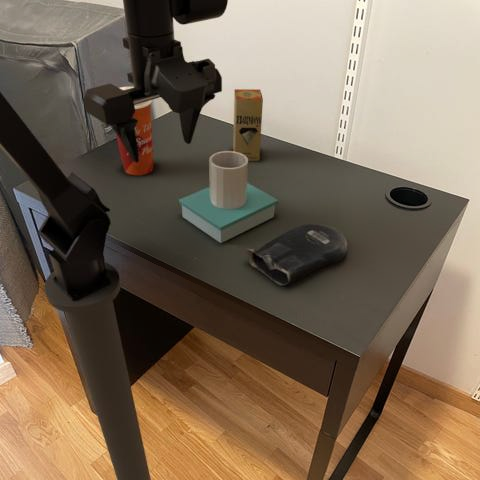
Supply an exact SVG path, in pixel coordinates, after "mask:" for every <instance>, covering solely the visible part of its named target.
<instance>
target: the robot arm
mask: <svg viewBox="0 0 480 480" xmlns="http://www.w3.org/2000/svg"><path fill="white" fill-rule="evenodd" d="M122 3H123V10H124V20H125V27H126V34H127V35H126V36H127V37H126V36H125V37H122V46H123V48H124V49H127V50H129V57H130V67H131V72H127V73H126V74H127V75H126V76H127V81H128V82H129V83H131V84H132V85H133V87H134V88H131V89H127V90H122V89H120V87H118V86H116V85H115V84H113V83H106V84H103V85H99V86H94V87H91V88H87V89H86V91H85V93H84V96H83V104H84V109H85V113H87V114H89V115H90V116H92V117H94V118H95V119H97V120H98V121H100V122H102V123H103V124H105V125H108V126H110V127H111V128H112V129H113V131H114V132H115V135H116V134H117V135H118V137H119V138H120V140H121V142H122V143H123V145H124V147H125V148H126V150H127V152H128V153H129V155H130V157H131V158H132V160H133V161H134V162H136V163H138V162H139V152H138V146H137V140H136V134H135V127H136V125H137V122H138V120H137V119H135V118H133V117H132V116H133V115H134V113H135V106H134V105H136V104H139V103H142V102H146V101H149V100H152V101H153V100H156V99H159V98H161V99H162V100H163V101H164V102H165V103H166V104H167V105H168V108H169V109H170V110H171V111H172V112H173V113H175V114H178V115H179V123H180V128H181V133H182V137H183V141H184V143H186V144H187V145H190V144H191V143H192V141H193V137H194V133H195V131H196V127H197V124H198V120H199V117H200V114H201V112H202V110H203V108H204V106H206V105H207V104H208V103H209V102H210V101H212V100H214V99H215V98H216V94H219V93H221V92H223V77H222V74H221V73H220V70H218V68H216V64H215V63H214V62H213V61H212V60H211V59H210V58H205V59H201V60H195V61H194V60H192V61H186V59H185V56H184V48H183V46H182V41H180V40H177V39H176V38H175V27H174V20H175V21H176V23H178V25H184V26H185V25H190V24H195V23H199V22H204V21H208V20H213V19H217V18H218V19H219V18H221V17H222V16H223V15H224V14H225V12H226V10H227V7H228V3H229V0H122ZM117 135H116V136H117ZM0 149H1V150H2V151H3V153H4V154H5V155H6V156H7V157H8V158H9V160H10V161H11V162H12V163H13V164H14V165H15V166H16V168H17V169H19V171H20V172H21V174H23V176H24V177H25V178H26V179H27V180H28V181H29V182H30V183H31V184H32V186H33V187H34V188H35V190H36V191H37V193H38V196H39V198H40V201H41V204H42V206H43V207H44V209H45V211H46V212H47V216H46V217H45V219H44V221H43V222H42V224H41V226H40V227H39V229H38V231H37V234H38V235H39V237H40V238H41V239H42V240H43V241H44V242H45V244H48V245H49V246H50V247H51V248H52V250H50V251H48V255H49V259H50V262H51V265H52V268H53V271H54V272H55V275H56V276H55V277H53V281H54V282H55V283H56V284H57V286H58V287H59V288H60V289H61V290H62V291H63V292H64V293H65V294H66V295H67V296H68V297H69V298H70V299H71V300H72V301H76V300H79V299H81V298H83V297H85V296H87V295H89V294H91V293H93V292H95V291H97V290H99V289H101V288H103V287H106V286H108V285H110V284H111V280H110V279H109V278H108V277H107V276H106V275H105V274H107V269H106V264H105V262H106V260H105V256H104V255H105V254H104V252H105V246H106V239H107V234H108V232H109V230H110V226H111V224H112V223H111V218H110V216H109V215H108V213H109V212H110V211H111V209H110V208H109V207H108V206H107V205H105V204H104V203H103V202H102V201H101V198H100V196H99V195H98V193H97V191H96V190H95V188H94V187H92V186H91V185H90V184H88V183H87V182H86V181H85V180H83V179H82V178H80V177H79V176H78V175H77V174H75V173H74V172H71V173H69V175H68V176H66V174H65V173H64V172H63V170H61V168H60V167H59V165H58V164H57V163H56V162H55V160H54V159H53V158H52V156H51V155H50V154H49V152H48V151H47V150H46V149H45V147H44V146H43V145H42V144H41V142H40V141H39V139H38V138H37V137H36V136H35V134H34V133H33V132H32V131H31V129H30V128H29V127H28V125H27V124H26V122H24V121H23V119H22V117H20V115H19V114H18V112H17V111H16V110H15V108H14V107H13V106H12V105H11V104H10V102H9V101H8V99H6V97H5V95H3V93H2V92H1V91H0Z"/></svg>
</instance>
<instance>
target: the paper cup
mask: <svg viewBox="0 0 480 480" xmlns="http://www.w3.org/2000/svg"><path fill="white" fill-rule="evenodd" d="M119 88H120V89H122V90H127V89H131V88H134V86H121V87H119ZM152 103H153V100H149V101H146V102H142V103H139V104H136V105H134V106H135V113H134V115H133V116H132V117H133V118H135V119H137V120H138V122H137V125H136V127H135V134H136V140H137V146H138V152H139V162H138V163H136V162H134V161H133V160H132V158H131V157H130V155H129V153H128V152H127V150H126V148H125V147H124V145H123V143H122V142H121V140H120V138H119V137H118V135H117V134H116V133H115V135H116V141H117V144H118V148H119V153H120V159H121V162H122V166H123V170H124V172H125V173H127V174H128V175H131V176H144V175H148V174H149V173H151V172H153V170H154V169H153V168H154V150H153V149H154V148H153V129H152V127H153V126H152V124H153V123H152V107H151V104H152Z"/></svg>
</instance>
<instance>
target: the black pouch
mask: <svg viewBox="0 0 480 480" xmlns="http://www.w3.org/2000/svg"><path fill="white" fill-rule="evenodd" d="M245 251H246V256H247V258H248V262H249V265H250V266H252V267H253V268H255V269H257V270H258V271H260V272H261V273H263V274H264V275H265V276H266V277H268V278H269V279H270V280H271V281H273V282H274V283H276V284H277V285H278V286H287V285H289V284H291V283H292V282H295V281H296V280H298V279H300V278H302V277H304V276H305V275H307V274H309V273H312V272H313V271H315V270H317V269H319V268H321V267H322V266H323V267H324V266H328V265H329V264H333V263H335V262H338V261H339V260H341V259H343V257H344V256H345V255H346V253H347V251H348V242H347V239H346V238H345V236H344V235H343V234H342V232H340V231H339V230H338V229H337V228H335V227H333V226H328V225H324V224H318V223H307V224H302V225H299V226H296V227H294V228H292V229H290V230H289V231H286V232H284V233H282V234H280V235H278V236H277V237H275V238H273V239H271V240H270V241H268V242H266V243H265V244H264V245H263V246H261V247H259V248H258V249H256V248H247V249H246V250H245Z"/></svg>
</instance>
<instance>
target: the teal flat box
mask: <svg viewBox="0 0 480 480" xmlns="http://www.w3.org/2000/svg"><path fill="white" fill-rule="evenodd" d="M178 203H179V205H181V213H182V218H184V219H185V220H186V221H188V222H189V223H190V224H192V225H194V226H195V227H196V228H198V229H199V230H201V231H202V232H204V233H205V234H207V235H208V236H210V237H211V238H212V239H214V240H215V241H216V242H217V243H220V244H223V243H224V242H226V241H228V240H230V239H233V238H234V237H236V236H239V235H241V234H243V233H245V232H246V231H249V230H250V229H252V228H255V227H256V226H259V225H261V224H263V223H264V222H267V221H269V220H271V219H273V218H275V210H276V209H275V208H276V205H278V203H279V200H278V199H277V198H275V197H273V196H272V195H270V194H268V193H266V192H264V191H263V190H260V188H258V187H256V186H254V185H252V184H250V183H249V182H247V198H246V203H245V204H244V205H243V206H241V207H239V208H236V209H221V208H218V207H216V206H214V205H213V204H212V203H211V201H210V186H209V187H206V188H203V189H201V190H198V191H196V192H194V193H192V194H189V195H187V196H184V197H182V198H180V199H178Z"/></svg>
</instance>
